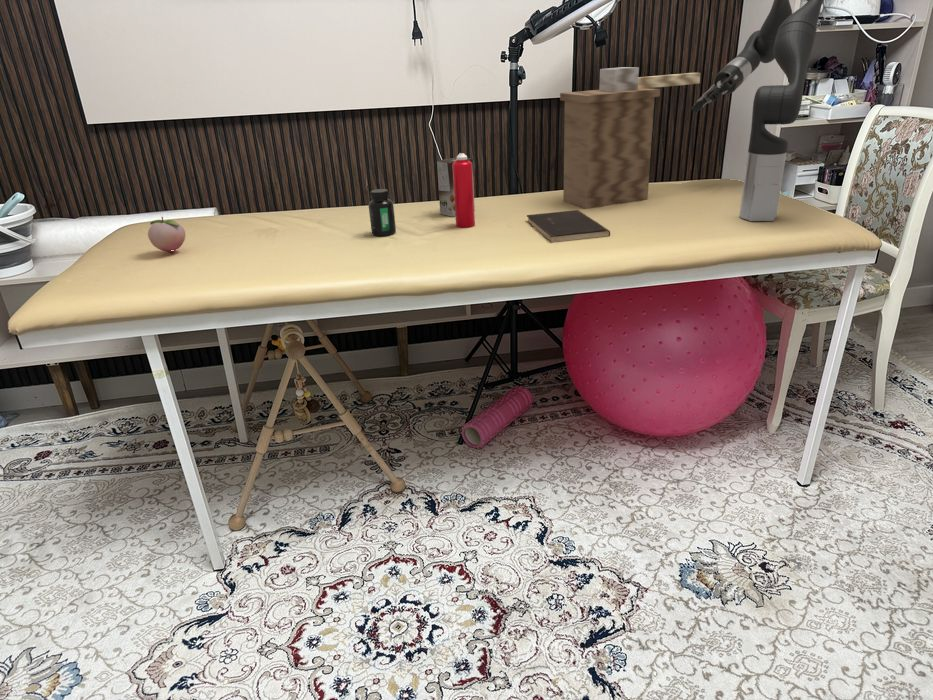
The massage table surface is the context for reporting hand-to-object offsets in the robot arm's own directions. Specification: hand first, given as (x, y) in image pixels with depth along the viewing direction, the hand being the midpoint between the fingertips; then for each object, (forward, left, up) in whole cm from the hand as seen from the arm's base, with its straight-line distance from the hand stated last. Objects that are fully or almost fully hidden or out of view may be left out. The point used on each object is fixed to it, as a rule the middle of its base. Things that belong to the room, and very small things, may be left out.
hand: (702, 104), depth 192 cm
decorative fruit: (-65, +145, -26) cm, 162 cm away
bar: (-3, +15, +6) cm, 17 cm away
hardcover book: (-43, +40, -27) cm, 65 cm away
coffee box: (-24, +73, -26) cm, 82 cm away
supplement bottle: (-47, +90, -26) cm, 105 cm away
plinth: (-10, +28, -26) cm, 40 cm away
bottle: (-39, +68, -26) cm, 83 cm away
